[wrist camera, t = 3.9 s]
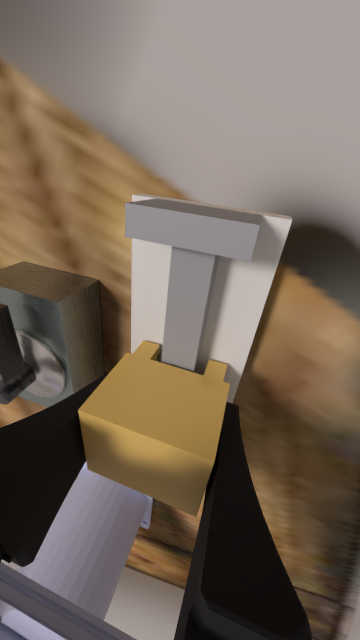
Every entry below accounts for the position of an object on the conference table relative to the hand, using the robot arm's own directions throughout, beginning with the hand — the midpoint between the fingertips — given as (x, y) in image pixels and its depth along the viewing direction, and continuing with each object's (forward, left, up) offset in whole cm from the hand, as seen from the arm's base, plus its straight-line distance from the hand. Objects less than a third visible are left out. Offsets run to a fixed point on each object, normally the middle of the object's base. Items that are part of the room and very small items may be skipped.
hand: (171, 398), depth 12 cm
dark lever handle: (+2, +8, +1) cm, 8 cm away
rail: (+1, 0, -2) cm, 3 cm away
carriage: (0, 0, -1) cm, 1 cm away
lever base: (0, +8, -2) cm, 8 cm away
